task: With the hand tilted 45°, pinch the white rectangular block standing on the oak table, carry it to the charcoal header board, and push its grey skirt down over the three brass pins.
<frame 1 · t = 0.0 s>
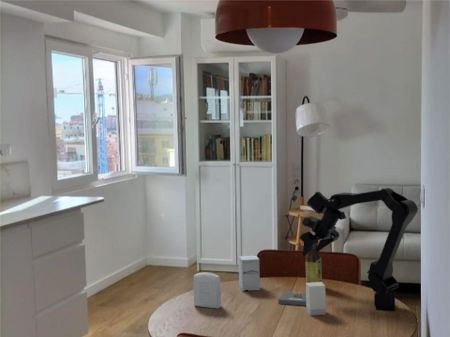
hand: (310, 252, 206), 15 cm above the table, tool tilted 35°, fingers open, 9 cm apart
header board: (297, 300, 196), on the table
supplement box: (249, 288, 213), on the table
white rectangular block: (316, 312, 182), on the table
sauce bottle: (314, 287, 212), on the table
white arched block: (207, 306, 193), on the table
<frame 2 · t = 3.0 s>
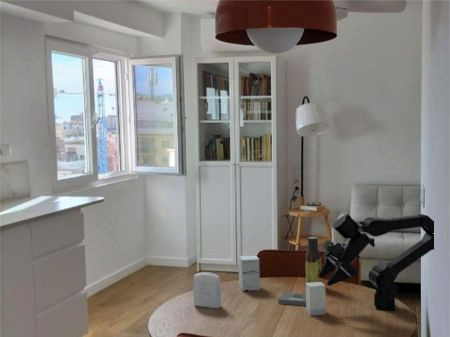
hand: (323, 281, 182), 11 cm above the table, tool tilted 45°, fingers open, 9 cm apart
nothing on the table moved.
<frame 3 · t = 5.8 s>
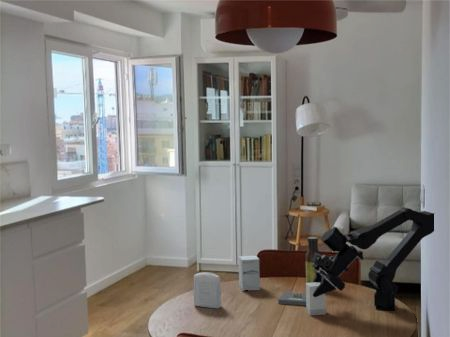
hand: (311, 294, 181), 7 cm above the table, tool tilted 45°, fingers closed on white rectangular block, 4 cm apart
white rectangular block: (316, 312, 182), on the table, touching gripper
everything else where it was.
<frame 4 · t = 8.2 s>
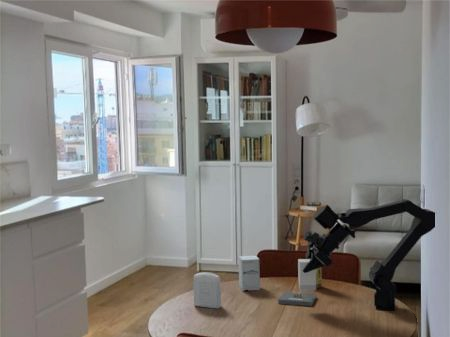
hand: (302, 270, 185), 14 cm above the table, tool tilted 45°, fingers closed on white rectangular block, 4 cm apart
white rectangular block: (307, 288, 186), point 7 cm above the table, touching gripper
everything else where it was.
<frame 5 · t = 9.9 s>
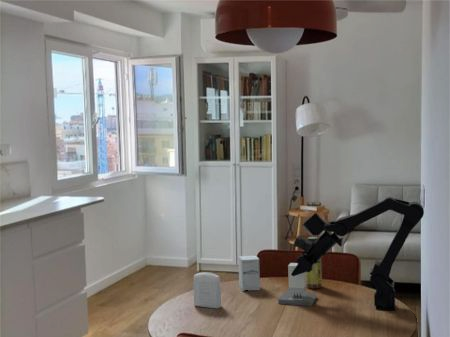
hand: (293, 273, 196), 10 cm above the table, tool tilted 45°, fingers closed on white rectangular block, 4 cm apart
white rectangular block: (297, 291, 196), point 3 cm above the table, touching gripper
everything else where it was.
when the fingers open (8 cm above the table, at t = 11.0 s): white rectangular block stays where it is, resting on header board.
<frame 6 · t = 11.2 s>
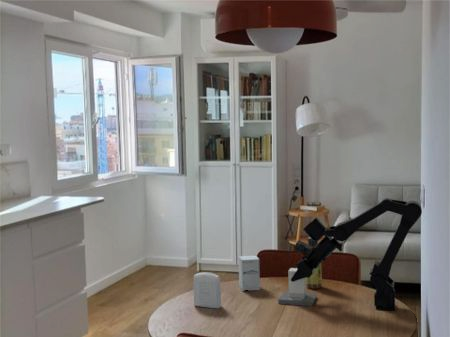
hand: (293, 278, 196), 8 cm above the table, tool tilted 45°, fingers open, 6 cm apart
white rectangular block: (297, 296, 196), point 1 cm above the table, touching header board
everything else where it was.
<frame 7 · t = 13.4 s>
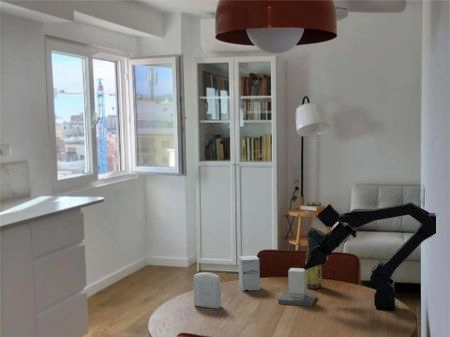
hand: (306, 265, 194), 13 cm above the table, tool tilted 45°, fingers open, 9 cm apart
nothing on the table moved.
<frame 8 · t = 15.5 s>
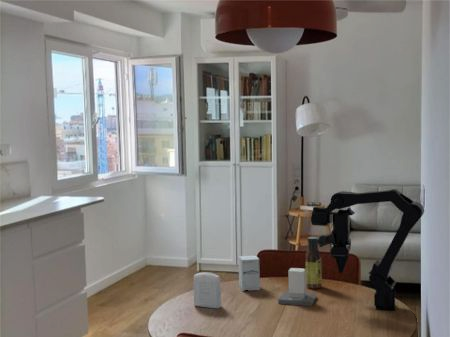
hand: (341, 269, 192), 12 cm above the table, tool pointing down, fingers open, 9 cm apart
nothing on the table moved.
at the end: white rectangular block 0.0 cm off-centre on the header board, point 1.5 cm above the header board's base; white rectangular block tilted 0°; the gripper is holding nothing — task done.
